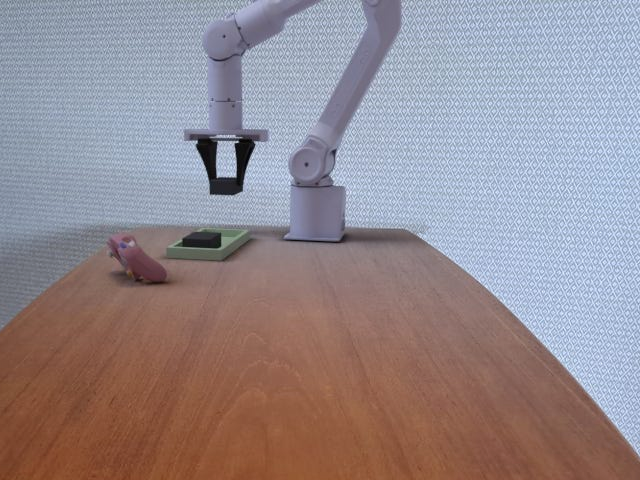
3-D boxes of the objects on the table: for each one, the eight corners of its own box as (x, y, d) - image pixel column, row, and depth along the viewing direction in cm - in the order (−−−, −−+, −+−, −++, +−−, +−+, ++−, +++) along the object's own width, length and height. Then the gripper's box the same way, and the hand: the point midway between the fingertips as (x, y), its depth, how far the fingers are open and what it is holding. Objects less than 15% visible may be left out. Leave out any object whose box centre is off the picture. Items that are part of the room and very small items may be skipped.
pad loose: (219, 190, 122) (219, 177, 121) (243, 191, 121) (243, 177, 120) (209, 194, 117) (209, 180, 116) (233, 195, 116) (233, 181, 115)
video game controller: (122, 280, 95) (95, 237, 91) (149, 263, 96) (124, 220, 92) (141, 297, 87) (113, 250, 83) (171, 278, 87) (144, 231, 84)
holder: (202, 236, 118) (202, 227, 117) (250, 239, 116) (250, 229, 115) (166, 257, 102) (166, 247, 101) (221, 260, 100) (221, 249, 99)
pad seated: (195, 246, 108) (194, 231, 107) (221, 247, 107) (221, 232, 106) (182, 254, 102) (181, 238, 101) (210, 255, 101) (210, 239, 100)
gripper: (272, 101, 116) (272, 183, 120) (192, 101, 119) (194, 181, 124) (263, 101, 109) (262, 187, 114) (178, 101, 113) (181, 185, 117)
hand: (226, 184), depth 118 cm, fingers closed on pad loose, 4 cm apart
